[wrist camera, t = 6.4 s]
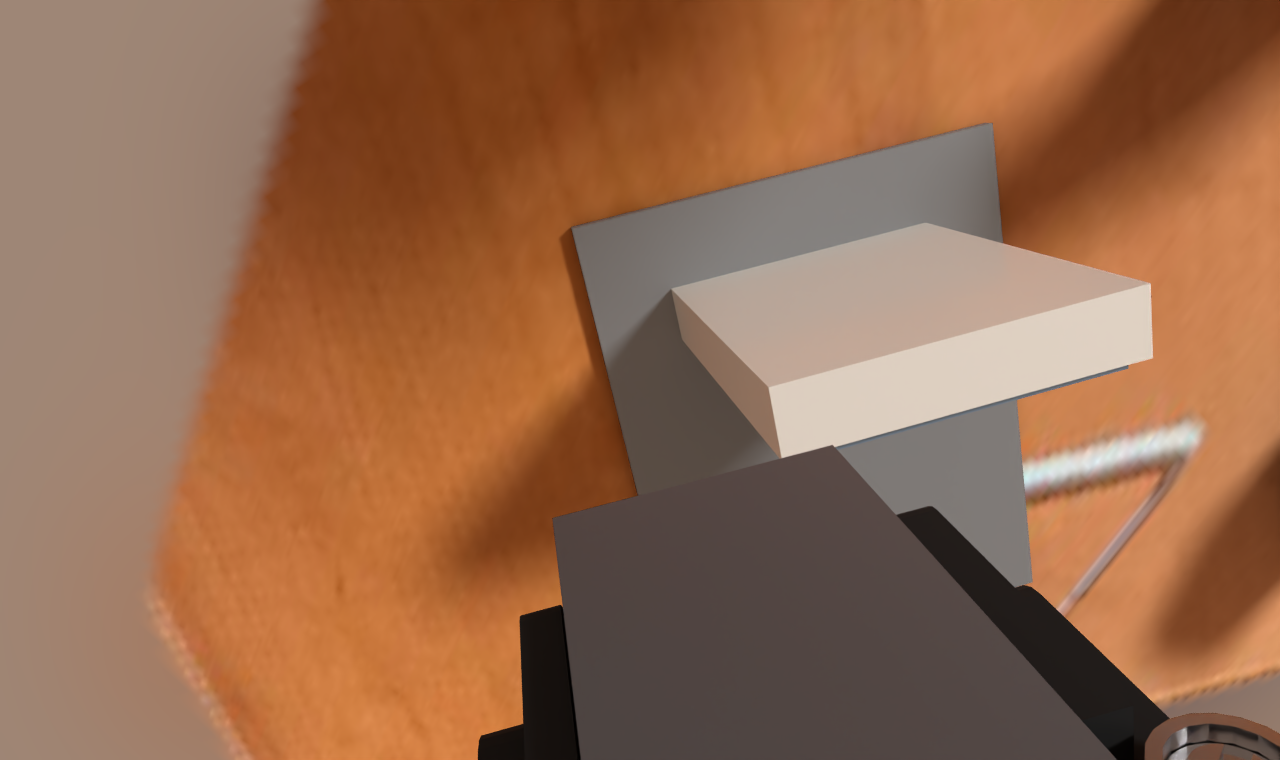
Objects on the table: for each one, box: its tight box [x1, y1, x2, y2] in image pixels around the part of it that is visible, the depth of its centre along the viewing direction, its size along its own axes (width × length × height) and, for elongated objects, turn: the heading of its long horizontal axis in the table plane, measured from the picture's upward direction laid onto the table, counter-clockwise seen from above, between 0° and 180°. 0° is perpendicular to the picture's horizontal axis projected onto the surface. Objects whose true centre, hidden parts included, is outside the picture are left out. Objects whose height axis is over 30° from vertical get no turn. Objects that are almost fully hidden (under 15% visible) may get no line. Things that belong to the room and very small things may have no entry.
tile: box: [671, 223, 1153, 458], centre depth 28 cm, size 2×10×12 cm, turn 103°
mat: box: [571, 123, 1033, 587], centre depth 35 cm, size 20×16×1 cm
